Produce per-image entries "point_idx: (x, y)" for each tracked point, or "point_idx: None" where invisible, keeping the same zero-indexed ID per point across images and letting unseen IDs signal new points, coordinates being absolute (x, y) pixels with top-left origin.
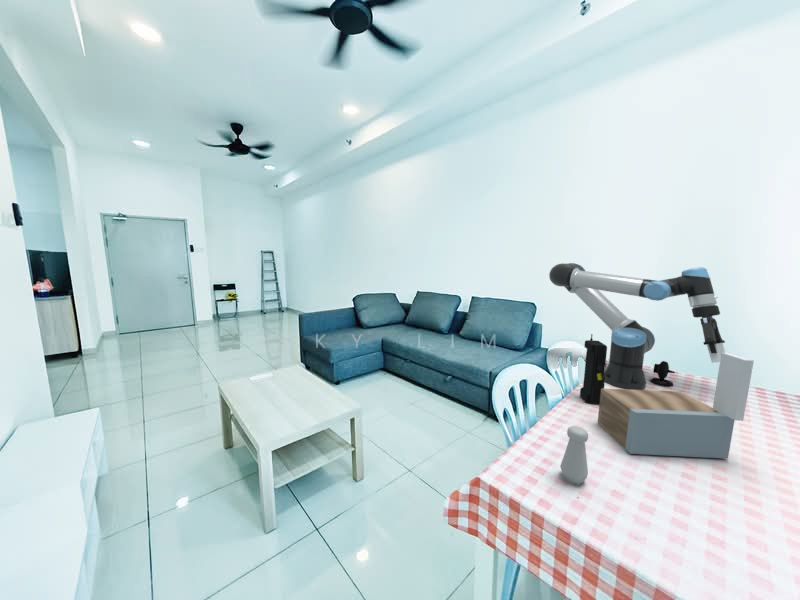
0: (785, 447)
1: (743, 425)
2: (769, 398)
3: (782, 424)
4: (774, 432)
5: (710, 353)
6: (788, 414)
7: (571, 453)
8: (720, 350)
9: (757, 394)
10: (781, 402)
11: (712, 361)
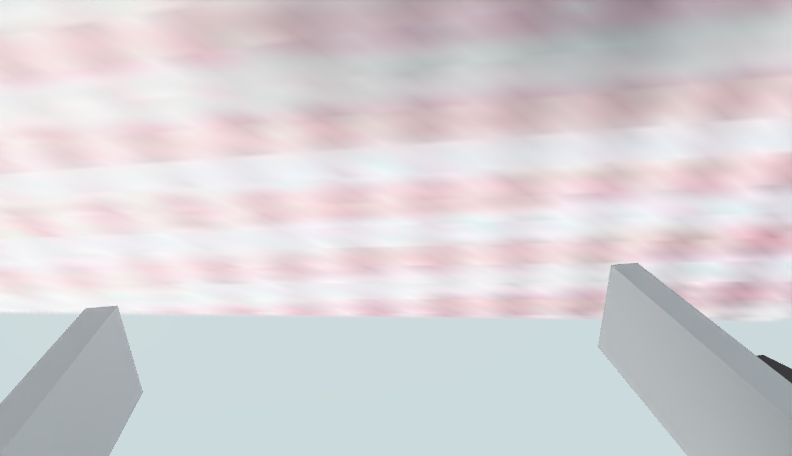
0: (45, 300)
1: (100, 214)
2: (672, 267)
3: (294, 296)
4: (160, 282)
5: (6, 417)
6: (459, 308)
7: None
8: (694, 411)
9: (716, 233)
10: None
11: (83, 325)
